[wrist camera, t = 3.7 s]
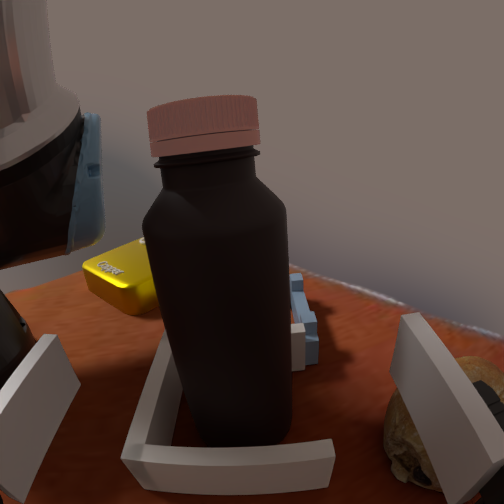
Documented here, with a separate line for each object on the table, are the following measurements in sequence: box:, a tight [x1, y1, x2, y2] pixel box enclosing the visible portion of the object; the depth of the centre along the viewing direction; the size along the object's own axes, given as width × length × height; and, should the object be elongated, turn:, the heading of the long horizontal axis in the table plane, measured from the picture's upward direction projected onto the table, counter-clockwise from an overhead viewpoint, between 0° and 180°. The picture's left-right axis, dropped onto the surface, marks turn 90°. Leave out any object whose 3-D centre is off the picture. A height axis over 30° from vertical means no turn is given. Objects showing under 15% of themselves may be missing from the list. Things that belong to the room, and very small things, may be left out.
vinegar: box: [142, 95, 292, 448], centre depth 17 cm, size 7×7×20 cm
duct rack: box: [121, 273, 336, 495], centre depth 25 cm, size 12×24×4 cm, turn 1°
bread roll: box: [384, 356, 504, 492], centre depth 15 cm, size 10×10×8 cm
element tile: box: [82, 237, 159, 315], centre depth 43 cm, size 15×15×5 cm
